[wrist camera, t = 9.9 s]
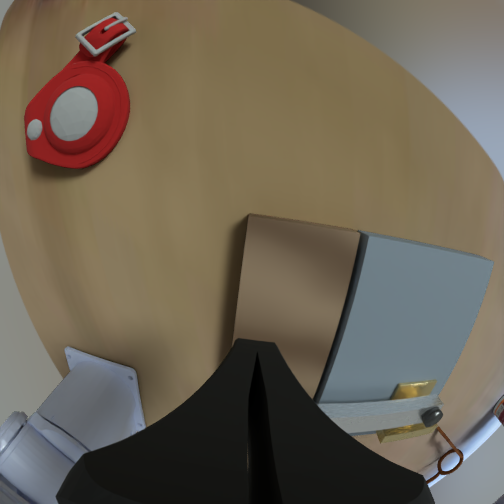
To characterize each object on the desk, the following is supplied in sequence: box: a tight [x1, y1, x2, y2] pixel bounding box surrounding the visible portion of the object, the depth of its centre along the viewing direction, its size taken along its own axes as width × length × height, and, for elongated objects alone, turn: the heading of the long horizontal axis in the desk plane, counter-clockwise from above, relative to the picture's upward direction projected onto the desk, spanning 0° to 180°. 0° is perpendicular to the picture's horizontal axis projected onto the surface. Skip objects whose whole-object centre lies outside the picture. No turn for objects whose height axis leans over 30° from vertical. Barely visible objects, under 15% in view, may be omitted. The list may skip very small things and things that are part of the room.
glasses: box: [426, 426, 463, 484], centre depth 22 cm, size 13×13×5 cm
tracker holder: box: [24, 12, 136, 169], centre depth 14 cm, size 12×4×10 cm
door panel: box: [313, 230, 494, 436], centre depth 18 cm, size 18×13×2 cm
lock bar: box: [317, 394, 444, 433], centre depth 16 cm, size 15×3×2 cm, turn 83°
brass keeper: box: [376, 379, 438, 443], centre depth 17 cm, size 4×6×3 cm
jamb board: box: [232, 213, 360, 400], centre depth 18 cm, size 18×7×3 cm, turn 172°
